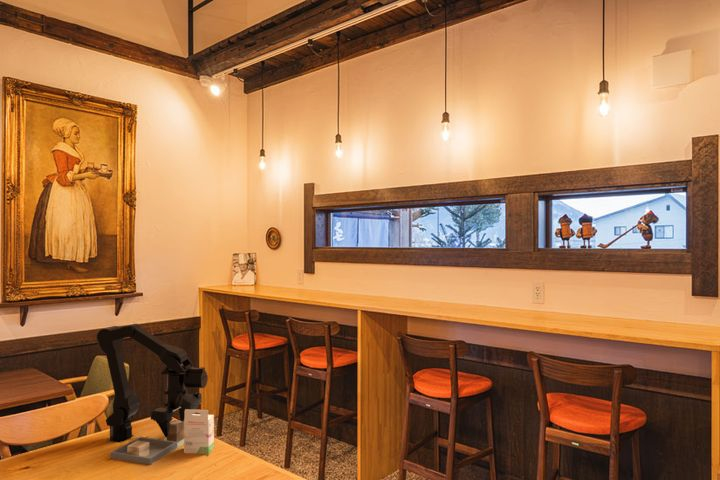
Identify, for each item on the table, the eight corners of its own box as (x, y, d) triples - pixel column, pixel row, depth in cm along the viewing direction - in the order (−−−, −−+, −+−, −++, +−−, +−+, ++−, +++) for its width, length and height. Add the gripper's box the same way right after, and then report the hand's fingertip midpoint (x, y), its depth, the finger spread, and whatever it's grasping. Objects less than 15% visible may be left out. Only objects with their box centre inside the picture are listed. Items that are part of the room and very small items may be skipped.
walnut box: (176, 443, 165) (176, 425, 165) (166, 441, 167) (166, 423, 167) (184, 438, 169) (184, 421, 169) (174, 437, 170) (174, 419, 170)
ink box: (214, 449, 162) (215, 405, 162) (208, 456, 157) (208, 410, 157) (189, 448, 163) (190, 404, 163) (182, 454, 158) (183, 409, 158)
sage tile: (155, 445, 165) (155, 443, 165) (172, 435, 174) (172, 433, 174) (178, 448, 162) (178, 447, 162) (194, 438, 171) (194, 436, 171)
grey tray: (110, 460, 154) (110, 452, 154) (139, 443, 166) (139, 436, 166) (150, 466, 149) (150, 458, 149) (177, 449, 162) (177, 441, 162)
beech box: (127, 458, 153) (127, 446, 153) (137, 452, 158) (137, 440, 158) (139, 460, 152) (139, 447, 152) (149, 454, 156) (149, 442, 156)
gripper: (178, 397, 157) (178, 445, 157) (211, 381, 175) (211, 424, 175) (149, 394, 160) (149, 441, 160) (185, 378, 178) (184, 421, 178)
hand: (175, 431), depth 168 cm, fingers open, 9 cm apart
